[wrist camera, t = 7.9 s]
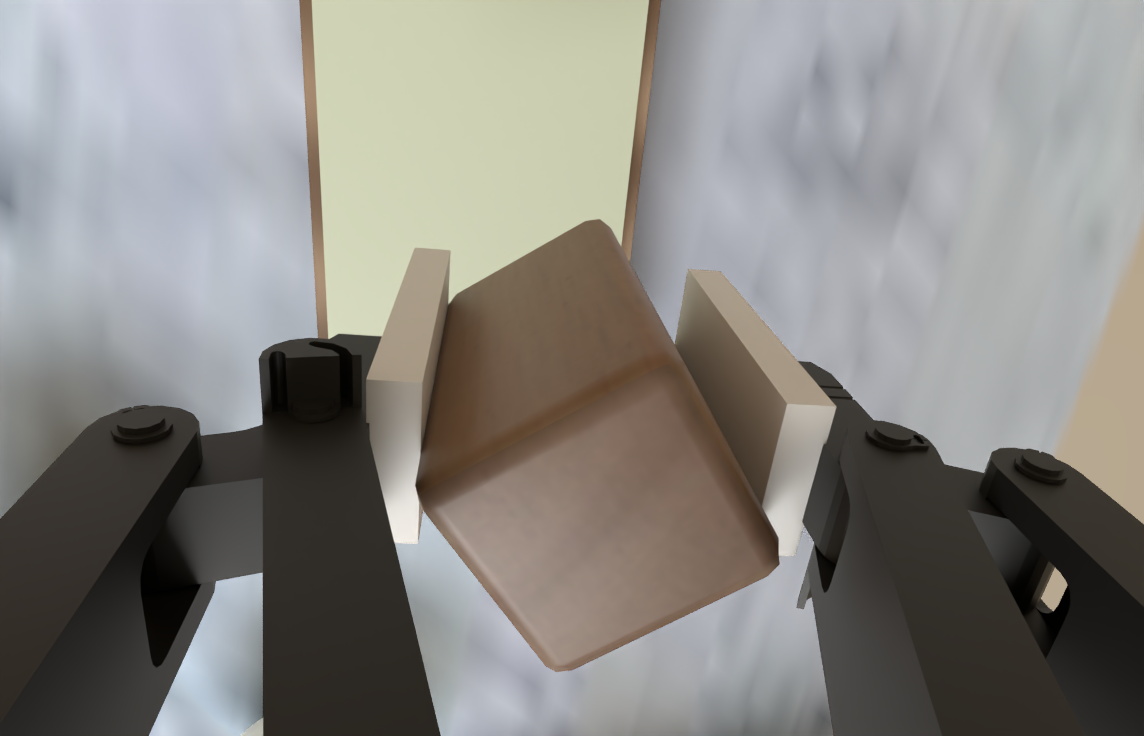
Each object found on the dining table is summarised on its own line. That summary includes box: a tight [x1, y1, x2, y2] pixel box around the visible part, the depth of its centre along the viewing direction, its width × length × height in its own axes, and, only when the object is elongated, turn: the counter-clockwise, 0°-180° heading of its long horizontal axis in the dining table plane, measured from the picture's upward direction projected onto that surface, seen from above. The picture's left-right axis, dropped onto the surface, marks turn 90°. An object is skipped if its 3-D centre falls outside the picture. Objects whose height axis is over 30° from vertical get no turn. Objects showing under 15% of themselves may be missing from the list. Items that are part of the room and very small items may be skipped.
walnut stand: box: [299, 0, 661, 339], centre depth 30 cm, size 18×12×5 cm, turn 175°
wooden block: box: [415, 219, 779, 672], centre depth 14 cm, size 4×4×8 cm
